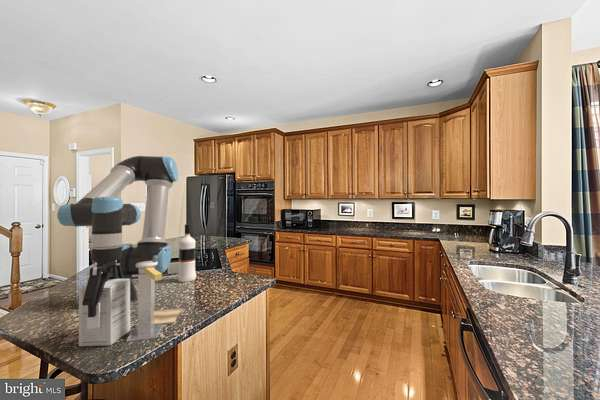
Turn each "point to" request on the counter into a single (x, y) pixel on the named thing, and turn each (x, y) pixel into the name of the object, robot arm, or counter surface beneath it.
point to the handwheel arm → (150, 268)
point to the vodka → (187, 257)
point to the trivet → (165, 316)
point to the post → (145, 311)
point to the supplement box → (107, 314)
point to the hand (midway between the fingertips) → (105, 317)
